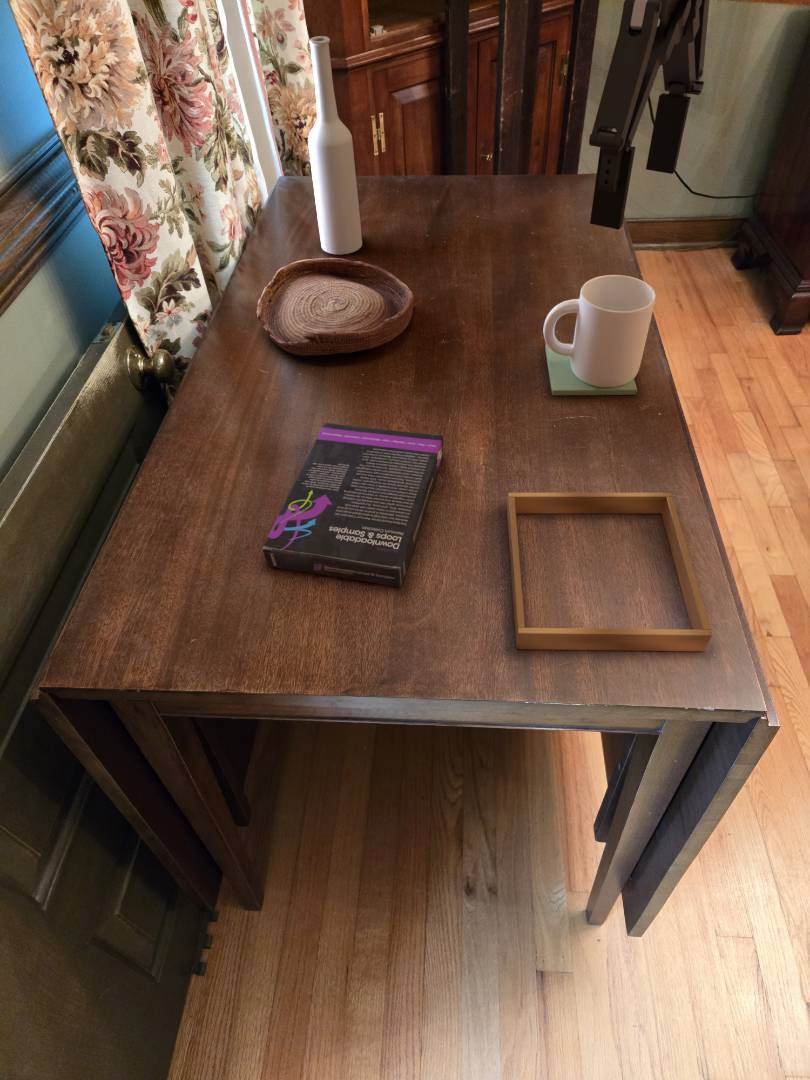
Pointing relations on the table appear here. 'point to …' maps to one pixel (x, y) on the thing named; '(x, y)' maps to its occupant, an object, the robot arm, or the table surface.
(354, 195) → the bottle
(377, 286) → the basket
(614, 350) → the mug
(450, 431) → the table surface
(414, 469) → the box
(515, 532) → the square wooden frame
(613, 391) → the plate
